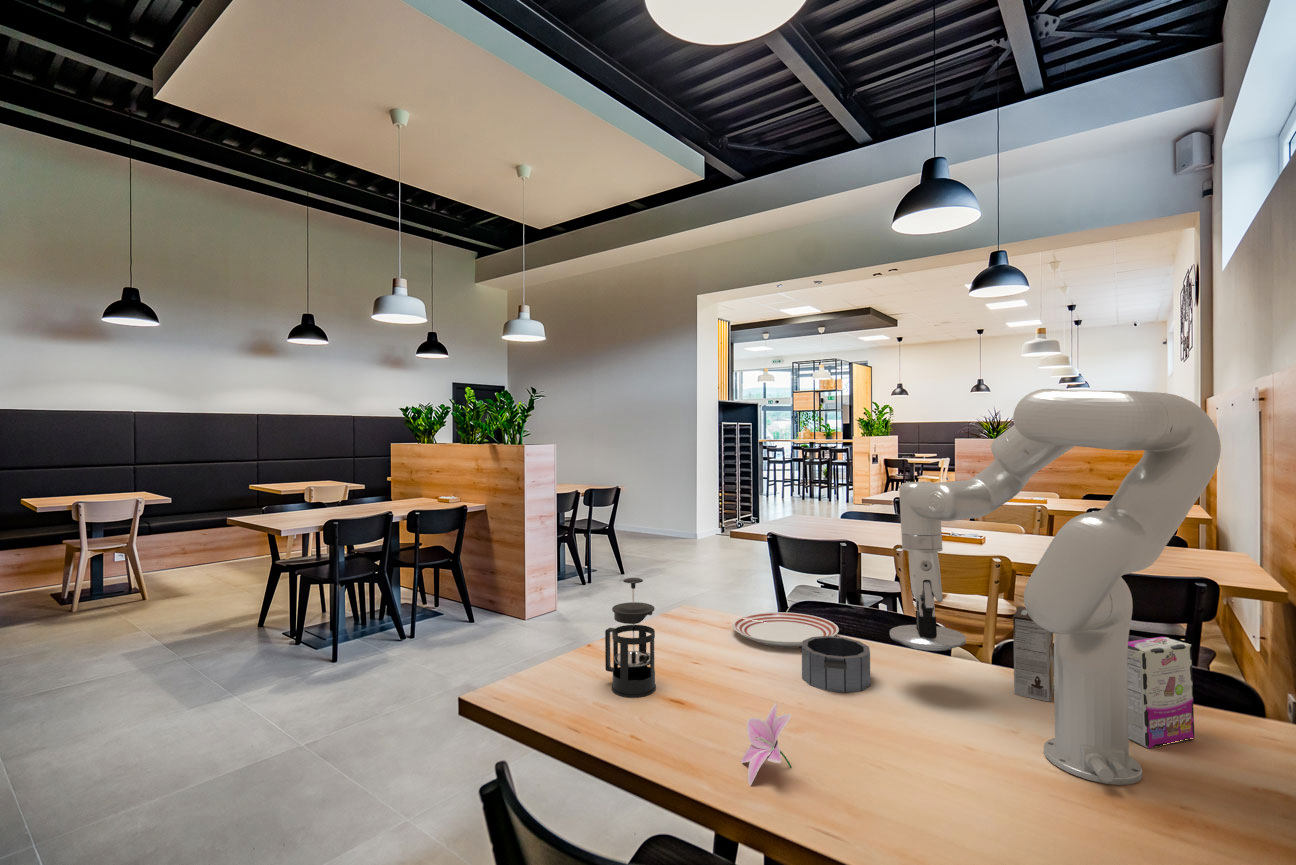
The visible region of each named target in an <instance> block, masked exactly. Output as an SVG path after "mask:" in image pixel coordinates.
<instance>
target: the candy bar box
mask: <svg viewBox="0 0 1296 865" xmlns="http://www.w3.org/2000/svg"><path fill="white" fill-rule="evenodd" d="M1192 661H1193V658H1192V644H1190V643H1187V642H1183V641H1181V640H1177V639H1174V638H1171V637H1167V636H1158V637H1157V636H1156V637H1150V638H1143V639H1136V640H1131V641H1130V640H1128V673H1127V680H1128V738H1129V741H1130V740H1131V741H1130V742H1132V741H1133V743H1134V742H1135V744H1137V743H1138V744H1137V745H1139V744H1140V745H1139V746H1141V745H1142V747H1143V748H1147V749H1153V748H1152V747H1154V748H1156V747H1155V746H1159V747H1161V746H1160V745H1163V744H1167V743H1171V742H1175V741H1180V740H1185V739H1190V738H1194V737H1195V738H1196V736H1195V716H1194V692H1193V687H1194V686H1193V663H1192Z"/></svg>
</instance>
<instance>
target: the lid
mask: <svg viewBox="0 0 1296 865" xmlns="http://www.w3.org/2000/svg"><path fill="white" fill-rule="evenodd" d="M916 611H917V623H918V616H920V614H919V611H918V610H916ZM936 628H937V637H921V636H920V635H919V624H918V630H917V628H916V624H906V625H905V624H903V625H898V626H894V627H893V628H891V629H889V637H890V638H891V640H893V641H895V642H897V643H898V644H899V643H900V644H902V645H903V646H906V647H908V648H911V649H915V650H921V651H928V652H929V651H930V652H938V651H939V652H941V651H949V650H952V649H955V648H959V647H962V646H964V645H966V644H967V643H966V642H967V640H966V639H967V637H966V635H965V634H964V633H962V632H960V631H958V630H955V629H953V628H947V627H942V626H937V625H936Z"/></svg>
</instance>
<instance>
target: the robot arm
mask: <svg viewBox="0 0 1296 865" xmlns="http://www.w3.org/2000/svg"><path fill="white" fill-rule="evenodd" d="M1012 418H1013V419H1012V420H1013V425H1011V426H1010V427H1009V428H1008V429H1006V430H1005V431H1004V432H1002V433H1001V434H1000V435H998V436H997V437H996V438H994V439H993V441H992V443H991V446H990V448H991V450H990V451H991V452H992V456H993V457H994V459H993V461H992V462H991V463H990V464H989V465H988V466H987V467H986V468H984V469H983V470H982V471H980V472H979V473H977V474H976V475H975V476H973V477H972V478H971V479H968V480H954V481H953V480H952V481H942V482H941V481H939V482H931V481H908V482H903V483H901V485H900V487H899V510H900V528H901V549H902V550H903V551H906V552H907V551H908V568H909V569H908V570H909V581H910V589H911V593H912V595H913V597H914V599H915V608H916V610H915V625H916V628H917V630H918V624H919V635H920V636H921V637H937V628H936V626H937V617H936V608H935V600H936V601H937V602H938V603H942V602H943V600H944V599H943V597H944V596H943V589H942V588H943V587H942V575H941V567H940V559H939V554H938V553H939V552H943V550H944V549H943V536H942V522H956V521H960V520H961V521H962V520H968V519H969V520H970V519H978V518H981V517H984V516H986V515H989V514H990V513H992V512H994V511H996V510H997V509H999V508H1000V507H1001V506H1003V505H1004V504H1006V503H1007V502H1009V501H1010V500H1012V499H1013V498H1015V497H1016V496H1017V495H1018V494H1020V492H1021V491H1022V490H1023V489H1024V487H1025V486H1026V485H1027V484H1028V483H1029V481H1030V478H1032V477H1033V476H1034V475H1035V474H1037V473H1038V472H1039V471H1041V470H1042V469H1044V468H1046V467H1047V466H1048V465H1049V464H1051V463H1053V462H1054V461H1055V460H1057V459H1058V458H1060V457H1062V456H1063V455H1065V453H1067V452H1069V451H1071V449H1073V448H1075V447H1078V448H1079V447H1081V448H1092V449H1102V450H1103V449H1104V450H1110V451H1111V450H1112V451H1122V452H1123V451H1128V452H1129V451H1130V452H1131V451H1132V452H1133V451H1143V455H1142V457H1141V458H1140V459H1139V461H1138V462H1137V463H1136V464H1135V465H1134V467H1133V468H1132V469H1131V470H1130V471H1129V472H1128V473H1127V474H1126V475H1125V477H1124V478H1123V480H1122V481H1121V483H1120V485H1119V487H1118V488H1117V490H1116V492H1115V493H1114V494H1113V495H1112V498H1110V499H1109V501H1108V503H1107V504H1106V505H1105V506H1104V507H1103V508H1102V509H1100V510H1095V511H1091V512H1090V511H1088V512H1086V513H1081V514H1079V515H1076V516H1074V517H1072V518H1071V519H1069V520H1068V521H1067V522H1066V523H1065V524H1064V525H1062V527H1061V528H1059V530H1058V531H1057V532H1056V534H1055V536H1054V537H1053V539H1052V541H1051V542H1050V544H1048V547H1047V548H1046V550H1045V552H1044V554H1043V555H1042V556H1041V558H1040V560H1039V561H1038V563H1037V565H1036V566H1035V568H1034V569H1033V571H1032V573H1031V574H1030V576H1029V578H1028V580H1027V582H1026V584H1025V588H1024V591H1023V601H1024V602H1023V603H1024V607H1025V608H1026V610H1027V612H1028V614H1029V616H1030V617H1031V619H1032V620H1033V621H1034V622H1035V623H1036V624H1037V625H1038V626H1040V627H1041V628H1043V629H1045V630H1047V631H1049V632H1052V633H1053V634H1054V638H1053V659H1054V689H1053V693H1054V694H1053V695H1054V697H1053V698H1054V701H1053V702H1054V705H1053V707H1054V737H1053V738H1050V739H1048V740H1046V741H1045V742H1044V743H1043V754H1044V755H1045V757H1046V759H1048V761H1049V762H1050V763H1051V764H1053V766H1056V767H1058V768H1059V769H1061V770H1063V771H1065V772H1066V773H1069V774H1071V775H1074V776H1076V777H1078V778H1079V777H1080V778H1082V779H1085V780H1087V781H1092V782H1095V783H1100V784H1105V785H1113V786H1114V785H1116V786H1124V785H1132V784H1137V783H1138V782H1140V781H1141V780H1142V778H1143V769H1142V768H1143V767H1142V766H1141V765H1140V763H1139V762H1138V761H1137V760H1136V759H1134V757H1132V756H1130V752H1129V750H1130V747H1129V746H1130V745H1129V744H1130V743H1129V741H1130V740H1129V738H1128V680H1127V673H1128V642H1129V636H1130V630H1131V624H1132V616H1133V608H1134V606H1133V597H1132V592H1131V590H1130V588H1129V585H1128V583H1126V581H1125V579H1123V577H1122V576H1124V575H1128V574H1131V573H1136V572H1140V571H1143V570H1145V569H1147V568H1149V567H1151V566H1152V565H1153V564H1154V563H1155V562H1156V561H1157V560H1158V558H1160V556H1161V554H1162V552H1164V551H1163V550H1164V549H1165V547H1166V546H1167V545H1168V544H1169V542H1170V541H1171V539H1172V538H1173V535H1175V533H1176V531H1177V530H1178V529H1179V528H1180V526H1181V524H1182V523H1183V522H1184V520H1185V519H1186V517H1187V516H1188V513H1189V512H1190V510H1191V509H1192V508H1193V506H1194V504H1195V503H1196V502H1197V500H1198V499H1199V498H1200V496H1201V495H1202V493H1203V492H1204V491H1205V489H1206V487H1207V486H1208V485H1209V483H1210V481H1211V480H1212V478H1213V476H1214V474H1215V472H1216V470H1217V468H1218V465H1219V462H1220V457H1221V451H1222V450H1221V446H1222V445H1221V438H1220V434H1219V431H1218V428H1217V427H1216V425H1215V423H1214V422H1213V420H1212V419H1211V417H1210V416H1209V414H1208V413H1207V412H1206V411H1205V410H1203V409H1202V408H1201V407H1200V406H1199V405H1197V404H1196V403H1194V402H1193V401H1191V400H1189V399H1187V398H1185V397H1182V396H1180V395H1176V394H1173V393H1168V392H1167V393H1166V392H1158V391H1152V392H1151V391H1138V390H1080V389H1079V390H1072V389H1071V390H1070V389H1058V388H1055V389H1054V388H1041V389H1036V390H1035V391H1034V390H1033V391H1032V392H1029V393H1028V394H1027V395H1025V396H1024V397H1022V399H1020V401H1018V403H1017V404H1016V406H1015V407H1014V411H1013V416H1012ZM917 611H919V614H920V616H918V623H917Z"/></svg>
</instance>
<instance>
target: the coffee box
mask: <svg viewBox="0 0 1296 865" xmlns="http://www.w3.org/2000/svg"><path fill="white" fill-rule="evenodd" d="M1012 619H1013V620H1012V624H1013V625H1012V626H1013V629H1012V630H1013V686H1014V687H1013V688H1014V695H1015V696H1020V697H1025V698H1029V699H1032V700H1033V699H1034V700H1040V701H1043V702H1047V703H1050V702H1051V701H1052V697H1053V695H1054V694H1053V693H1054V633H1052V632H1049V631H1047V630H1045V629H1043V628H1041V627H1040V626H1038V625H1037V624H1036V623H1035V622H1034V621H1033V620H1032V619H1031V617H1030V616H1029V614H1028V612H1027V610H1026V608H1025V606H1017V608H1016V610H1015V613H1014V615H1013V616H1012Z"/></svg>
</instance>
